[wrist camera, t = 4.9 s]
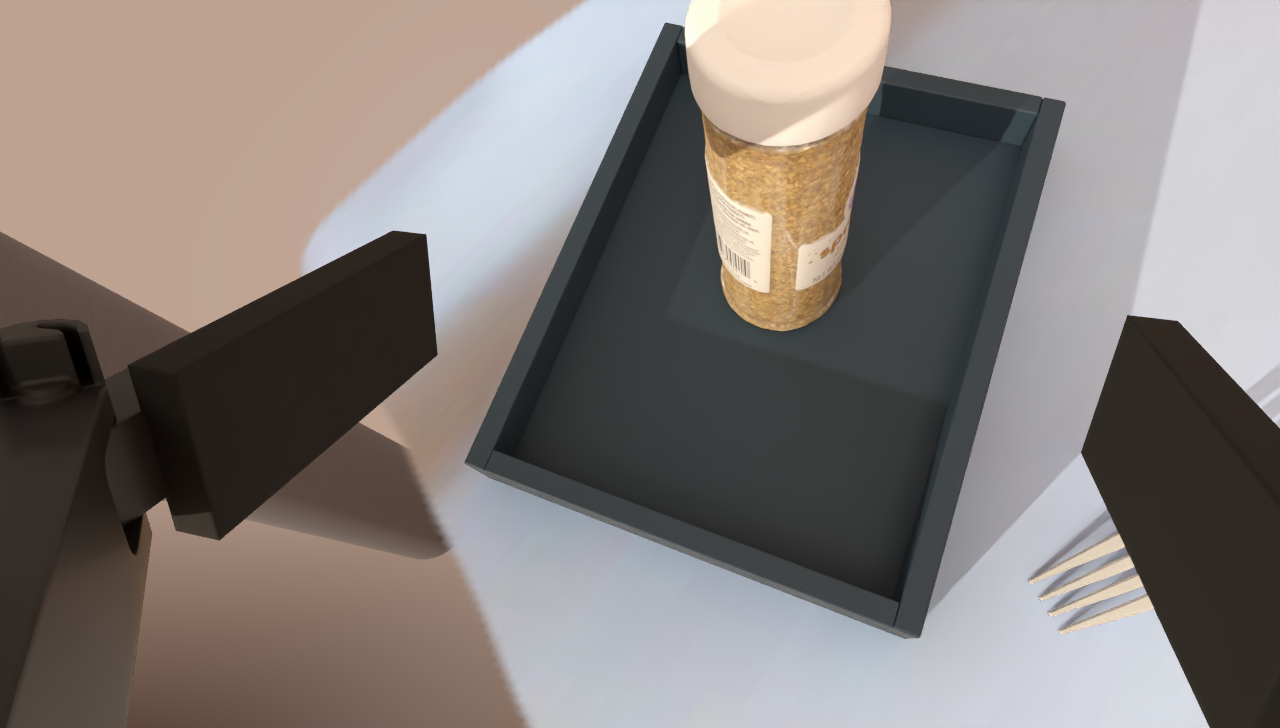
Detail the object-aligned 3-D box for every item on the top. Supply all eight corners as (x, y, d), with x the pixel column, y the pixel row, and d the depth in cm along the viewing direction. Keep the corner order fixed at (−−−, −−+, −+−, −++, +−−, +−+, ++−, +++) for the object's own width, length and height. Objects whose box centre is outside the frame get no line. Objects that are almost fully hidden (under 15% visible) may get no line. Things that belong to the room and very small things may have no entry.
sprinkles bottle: (854, 320, 28) (921, 65, 16) (731, 345, 29) (701, 116, 16) (824, 214, 30) (863, -93, 17) (709, 239, 30) (666, -43, 18)
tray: (488, 477, 29) (463, 462, 27) (672, 64, 34) (664, 22, 32) (906, 639, 25) (920, 639, 23) (1044, 142, 30) (1067, 100, 28)
